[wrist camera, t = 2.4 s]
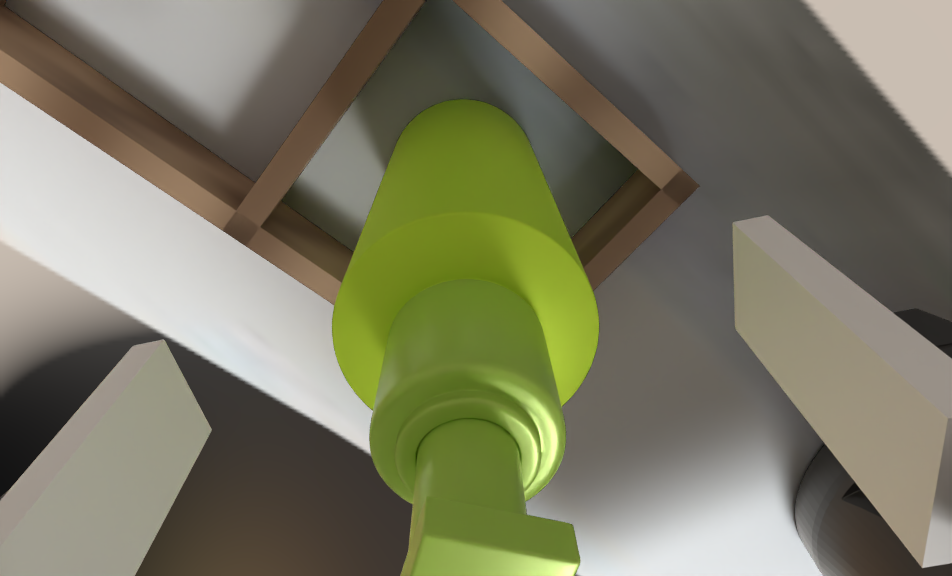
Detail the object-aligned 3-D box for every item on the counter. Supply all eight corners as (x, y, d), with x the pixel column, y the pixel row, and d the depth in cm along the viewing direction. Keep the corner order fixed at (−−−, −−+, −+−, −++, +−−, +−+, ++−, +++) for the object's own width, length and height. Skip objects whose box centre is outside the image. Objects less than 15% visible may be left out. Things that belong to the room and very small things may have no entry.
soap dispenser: (372, 242, 27) (191, 783, 9) (409, 80, 24) (254, 393, 6) (503, 275, 27) (584, 830, 10) (554, 122, 25) (812, 511, 7)
